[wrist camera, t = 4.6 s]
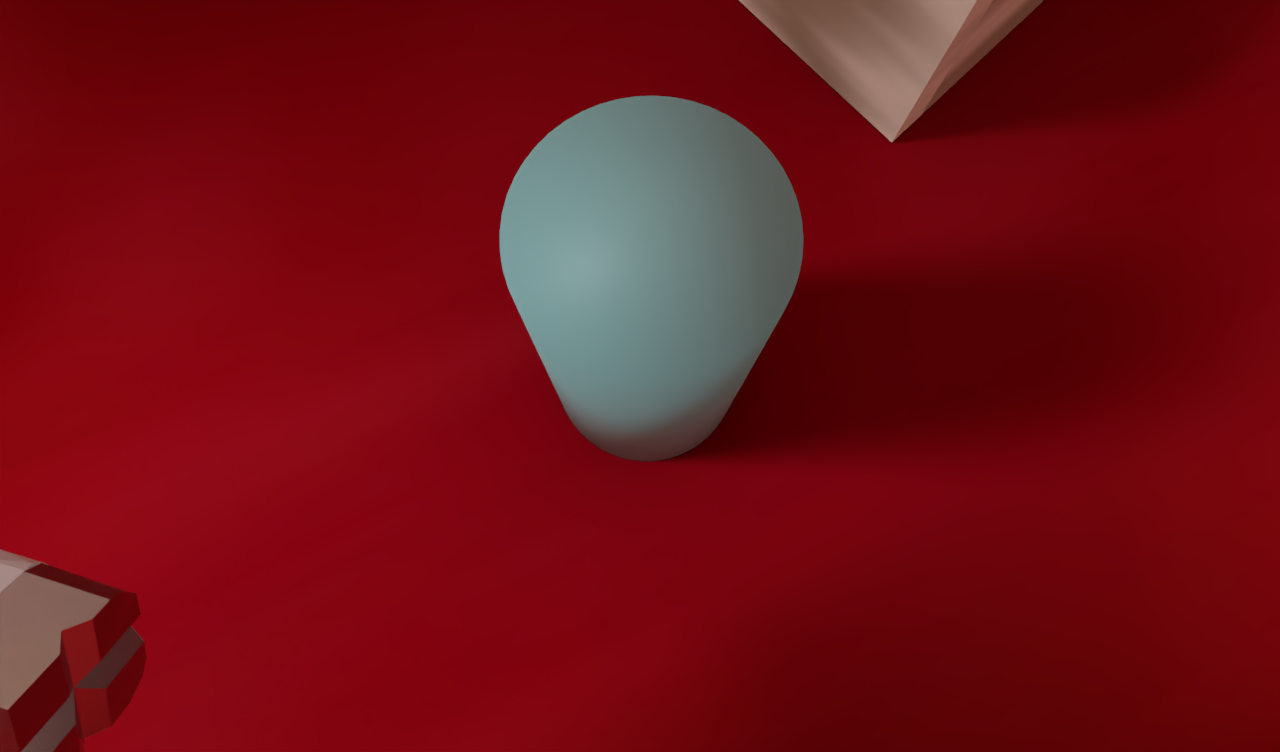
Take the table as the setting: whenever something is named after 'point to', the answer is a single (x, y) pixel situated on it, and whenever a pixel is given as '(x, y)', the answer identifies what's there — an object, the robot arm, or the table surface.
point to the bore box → (891, 47)
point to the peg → (650, 267)
